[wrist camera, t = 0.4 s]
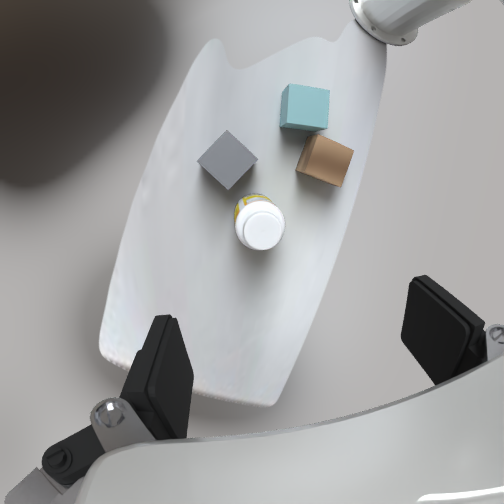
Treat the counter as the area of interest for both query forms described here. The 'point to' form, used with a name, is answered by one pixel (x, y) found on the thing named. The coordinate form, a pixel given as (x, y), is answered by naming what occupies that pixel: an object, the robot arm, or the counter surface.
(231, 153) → the gray block
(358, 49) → the counter surface
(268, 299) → the counter surface
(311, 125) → the teal block
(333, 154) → the walnut block
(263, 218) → the supplement bottle
